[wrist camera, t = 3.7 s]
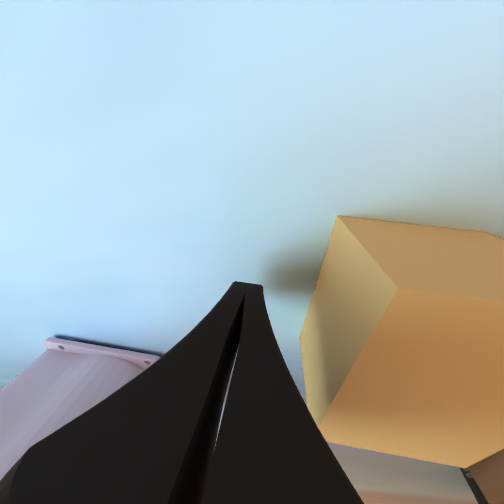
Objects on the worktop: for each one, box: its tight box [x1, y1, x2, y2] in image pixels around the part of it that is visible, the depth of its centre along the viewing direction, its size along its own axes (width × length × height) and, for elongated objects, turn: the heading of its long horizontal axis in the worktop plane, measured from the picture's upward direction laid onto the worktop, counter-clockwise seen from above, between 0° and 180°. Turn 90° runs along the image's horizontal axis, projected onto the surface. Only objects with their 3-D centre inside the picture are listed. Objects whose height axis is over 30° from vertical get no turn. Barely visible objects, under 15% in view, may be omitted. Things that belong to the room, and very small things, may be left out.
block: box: [300, 216, 504, 468], centre depth 8 cm, size 6×8×5 cm
